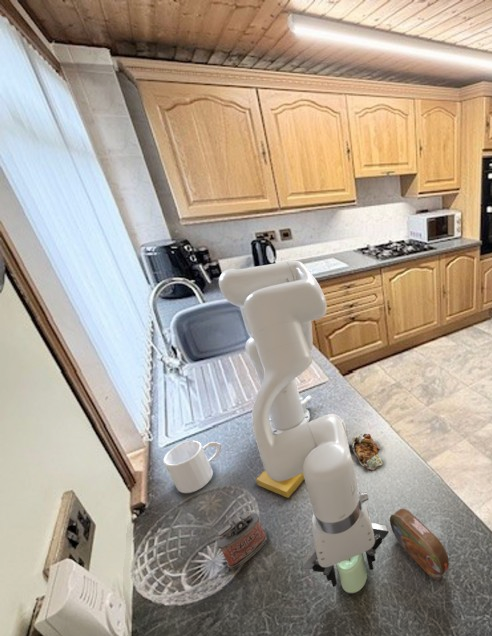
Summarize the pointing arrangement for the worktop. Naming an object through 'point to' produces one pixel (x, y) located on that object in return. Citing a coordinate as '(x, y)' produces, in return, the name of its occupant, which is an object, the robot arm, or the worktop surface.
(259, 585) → the worktop surface
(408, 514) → the tin
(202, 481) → the mug
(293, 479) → the button box
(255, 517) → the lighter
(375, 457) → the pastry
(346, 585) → the candle
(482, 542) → the worktop surface
